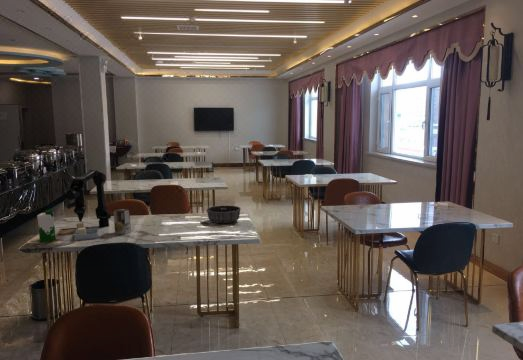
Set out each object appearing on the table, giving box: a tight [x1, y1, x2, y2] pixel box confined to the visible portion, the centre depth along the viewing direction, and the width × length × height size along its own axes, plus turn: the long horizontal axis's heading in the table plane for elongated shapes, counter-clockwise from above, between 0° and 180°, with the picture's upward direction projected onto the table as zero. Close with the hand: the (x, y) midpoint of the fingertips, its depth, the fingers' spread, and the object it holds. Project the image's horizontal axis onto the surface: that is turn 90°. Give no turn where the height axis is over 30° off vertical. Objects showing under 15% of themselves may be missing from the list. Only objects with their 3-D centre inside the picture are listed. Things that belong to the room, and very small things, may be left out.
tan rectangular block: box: [78, 226, 87, 235], centre depth 294 cm, size 4×4×6 cm
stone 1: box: [76, 221, 85, 230], centre depth 308 cm, size 4×4×6 cm
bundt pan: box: [205, 205, 242, 224], centre depth 335 cm, size 26×26×10 cm
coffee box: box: [113, 208, 132, 235], centre depth 303 cm, size 9×6×16 cm
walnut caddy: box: [57, 226, 90, 236], centre depth 307 cm, size 19×15×1 cm
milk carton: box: [36, 209, 56, 243], centre depth 284 cm, size 9×9×20 cm
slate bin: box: [73, 227, 100, 241], centre depth 295 cm, size 14×14×4 cm
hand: (81, 220), depth 292 cm, fingers open, 9 cm apart
